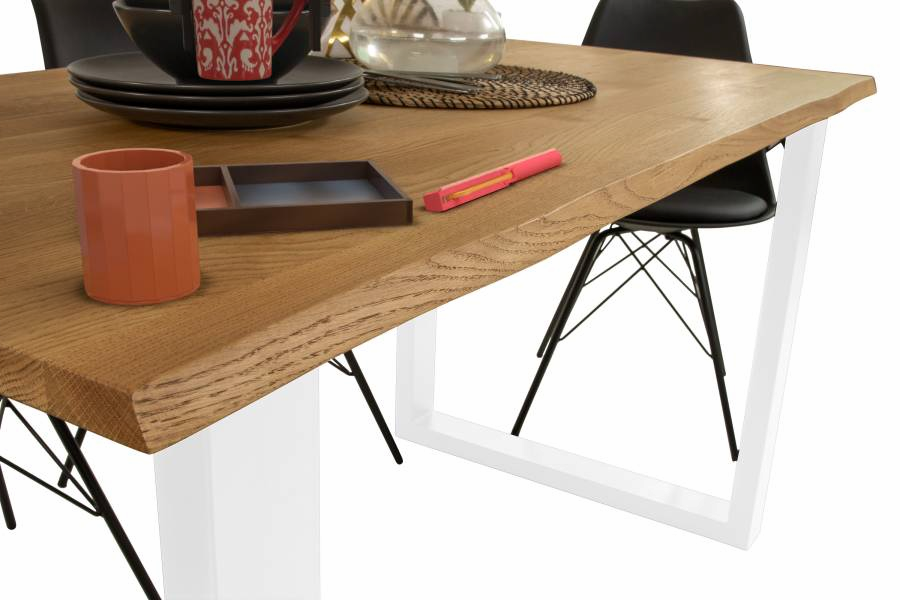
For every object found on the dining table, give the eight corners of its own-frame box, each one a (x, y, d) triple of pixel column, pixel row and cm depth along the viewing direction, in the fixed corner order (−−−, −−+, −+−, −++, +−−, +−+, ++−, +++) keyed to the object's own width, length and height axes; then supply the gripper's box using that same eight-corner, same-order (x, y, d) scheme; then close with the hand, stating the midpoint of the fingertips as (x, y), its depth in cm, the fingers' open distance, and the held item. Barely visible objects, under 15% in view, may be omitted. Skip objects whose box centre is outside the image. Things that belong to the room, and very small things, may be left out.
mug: (203, 83, 96) (197, -67, 92) (177, 72, 103) (170, -68, 99) (325, 80, 102) (325, -61, 98) (293, 69, 110) (291, -62, 105)
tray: (95, 247, 77) (92, 215, 76) (101, 196, 91) (99, 169, 90) (412, 229, 84) (413, 199, 83) (372, 184, 98) (372, 159, 97)
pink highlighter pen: (410, 219, 89) (453, 211, 87) (404, 196, 89) (447, 187, 86) (536, 172, 108) (574, 164, 106) (531, 152, 108) (569, 144, 105)
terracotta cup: (83, 314, 64) (68, 174, 60) (88, 277, 70) (75, 149, 67) (203, 305, 66) (195, 169, 63) (197, 270, 72) (189, 146, 69)
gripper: (363, -173, 102) (362, 46, 109) (111, -190, 95) (127, 45, 102) (380, -180, 95) (377, 54, 102) (109, -200, 88) (127, 53, 95)
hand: (252, 50), depth 102 cm, fingers closed on mug, 12 cm apart
